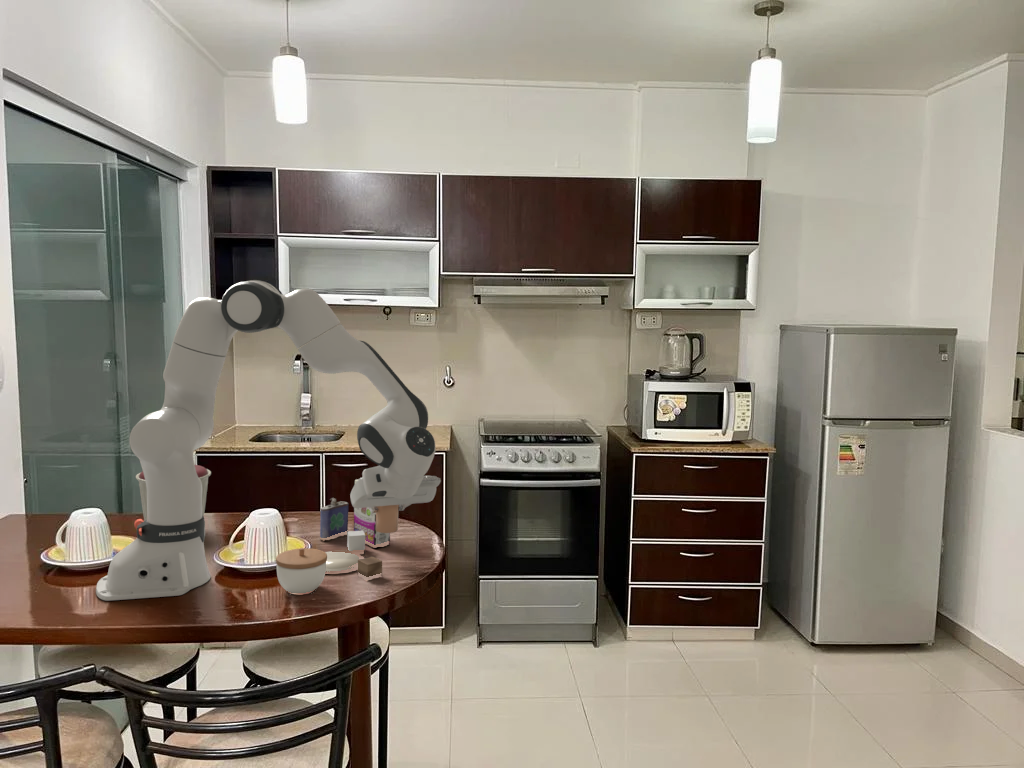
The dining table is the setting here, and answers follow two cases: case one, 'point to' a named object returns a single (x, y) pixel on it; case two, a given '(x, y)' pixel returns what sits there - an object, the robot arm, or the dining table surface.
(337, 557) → the cream plate
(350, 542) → the grey block
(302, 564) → the lidded jar
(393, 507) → the tan cylinder
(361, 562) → the walnut block
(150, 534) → the robot arm
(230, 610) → the dining table surface
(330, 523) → the flask
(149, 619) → the dining table surface
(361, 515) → the candy bar box
